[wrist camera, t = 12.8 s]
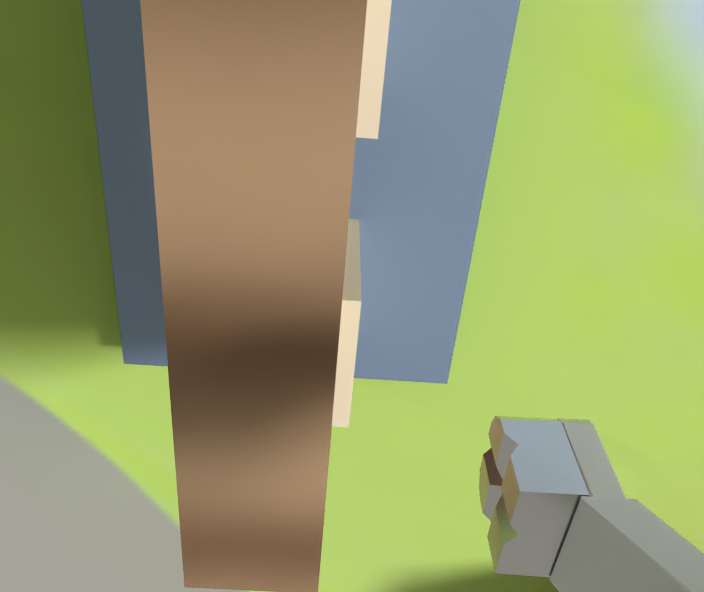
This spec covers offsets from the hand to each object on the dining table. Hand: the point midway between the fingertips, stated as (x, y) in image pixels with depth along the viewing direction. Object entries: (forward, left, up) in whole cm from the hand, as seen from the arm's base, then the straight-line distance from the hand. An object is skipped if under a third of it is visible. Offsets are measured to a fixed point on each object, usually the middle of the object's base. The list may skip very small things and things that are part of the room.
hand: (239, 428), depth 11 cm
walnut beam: (0, 0, -9) cm, 9 cm away
